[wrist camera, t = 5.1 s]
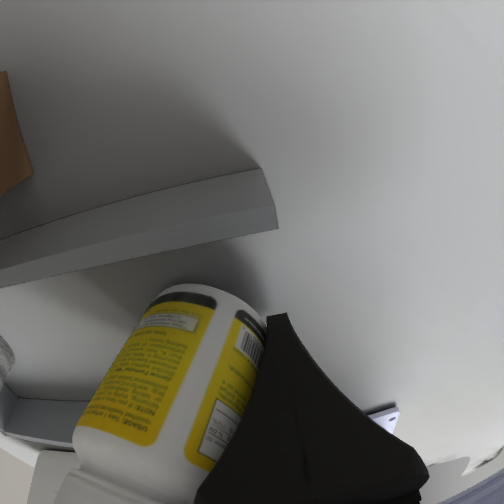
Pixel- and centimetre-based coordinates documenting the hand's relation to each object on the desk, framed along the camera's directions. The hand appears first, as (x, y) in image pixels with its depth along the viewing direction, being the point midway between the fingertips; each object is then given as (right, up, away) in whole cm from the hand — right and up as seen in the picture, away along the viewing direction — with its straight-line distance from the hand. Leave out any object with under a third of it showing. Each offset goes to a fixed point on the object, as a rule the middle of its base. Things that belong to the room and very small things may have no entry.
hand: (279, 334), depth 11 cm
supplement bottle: (-2, 0, +1) cm, 3 cm away
